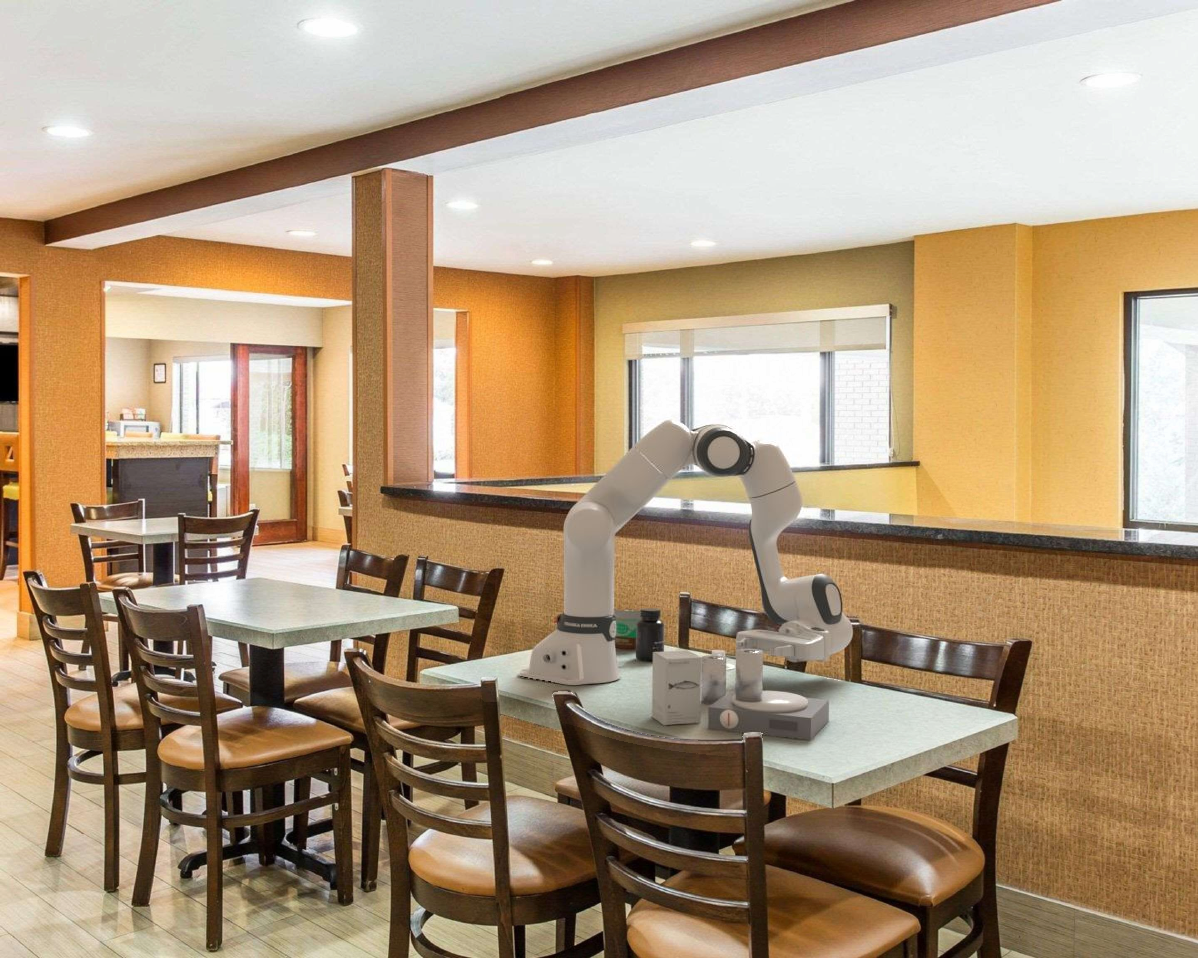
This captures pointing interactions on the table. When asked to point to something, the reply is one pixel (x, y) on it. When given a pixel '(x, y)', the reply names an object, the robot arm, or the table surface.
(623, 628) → the food container
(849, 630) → the robot arm
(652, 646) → the supplement bottle
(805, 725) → the dial scale
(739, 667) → the cylinder
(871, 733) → the table surface
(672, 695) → the supplement box
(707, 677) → the cylinder
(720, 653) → the teacup and saucer
